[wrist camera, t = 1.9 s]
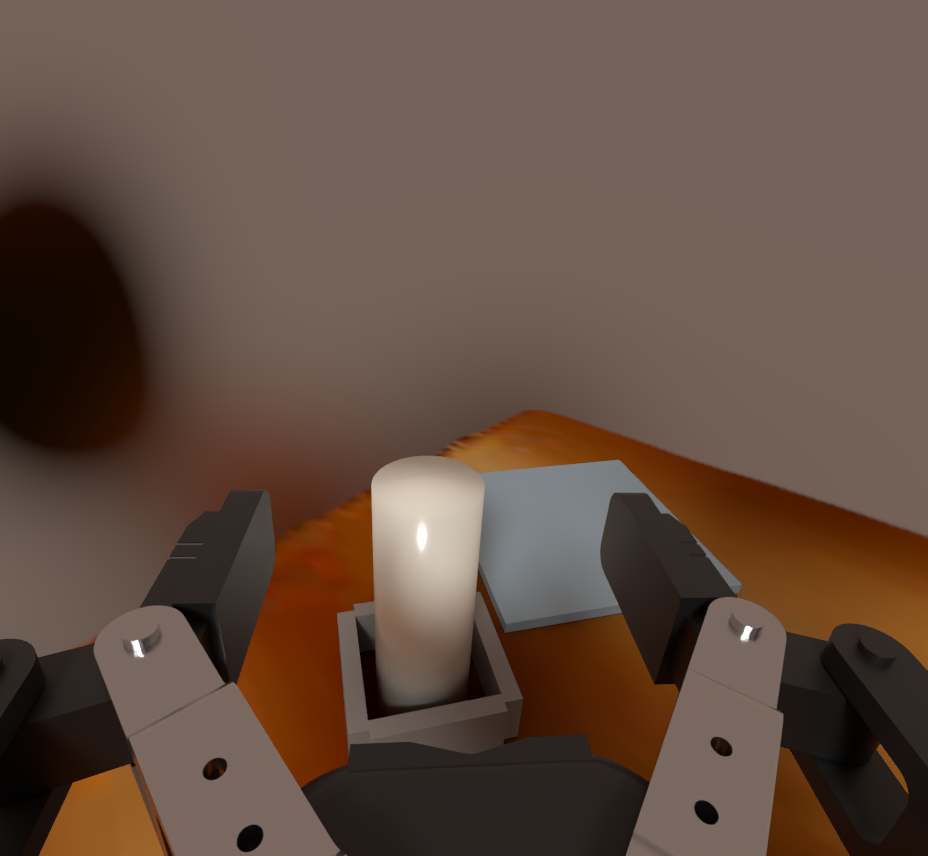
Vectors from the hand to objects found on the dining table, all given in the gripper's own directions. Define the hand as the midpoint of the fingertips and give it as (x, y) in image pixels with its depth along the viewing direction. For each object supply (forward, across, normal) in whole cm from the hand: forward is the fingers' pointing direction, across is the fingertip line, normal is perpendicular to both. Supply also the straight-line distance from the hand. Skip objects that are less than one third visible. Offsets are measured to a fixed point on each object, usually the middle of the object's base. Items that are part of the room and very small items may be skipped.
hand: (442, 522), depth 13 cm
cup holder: (+11, 0, +20) cm, 23 cm away
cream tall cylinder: (+11, 0, +20) cm, 23 cm away
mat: (+26, -13, +20) cm, 35 cm away
